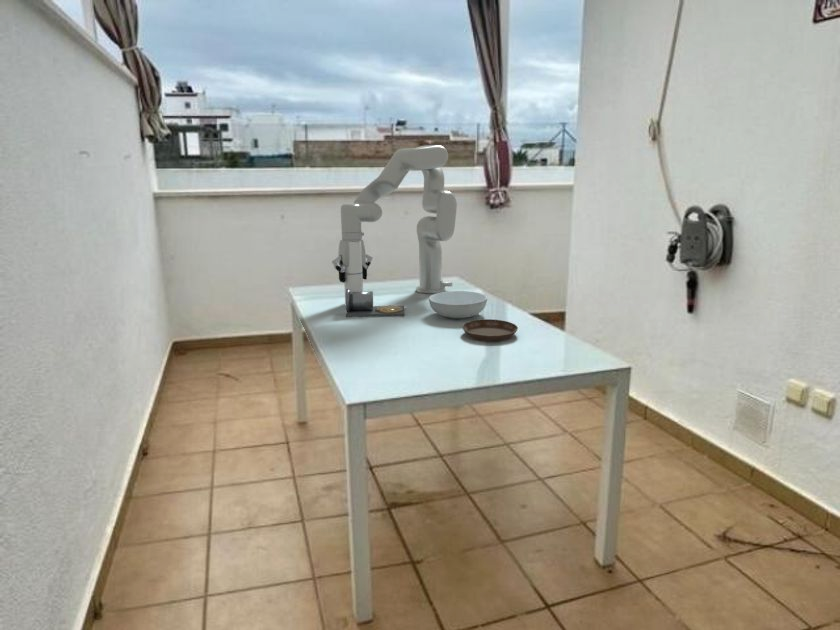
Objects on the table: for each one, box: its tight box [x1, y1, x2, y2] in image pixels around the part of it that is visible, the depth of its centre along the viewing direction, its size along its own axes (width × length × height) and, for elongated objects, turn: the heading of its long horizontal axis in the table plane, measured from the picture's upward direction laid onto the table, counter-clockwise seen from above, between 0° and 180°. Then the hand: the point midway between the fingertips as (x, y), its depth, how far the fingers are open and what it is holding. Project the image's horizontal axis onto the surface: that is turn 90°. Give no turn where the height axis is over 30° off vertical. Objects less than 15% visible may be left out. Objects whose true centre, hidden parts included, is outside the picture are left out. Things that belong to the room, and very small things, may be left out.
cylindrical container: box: [344, 241, 364, 304], centre depth 229 cm, size 7×7×25 cm
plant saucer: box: [461, 318, 519, 342], centre depth 190 cm, size 18×18×3 cm
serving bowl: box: [428, 290, 488, 320], centre depth 213 cm, size 21×21×7 cm
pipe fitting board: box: [345, 289, 405, 318], centre depth 218 cm, size 21×12×9 cm, turn 92°
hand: (353, 280), depth 230 cm, fingers open, 9 cm apart
